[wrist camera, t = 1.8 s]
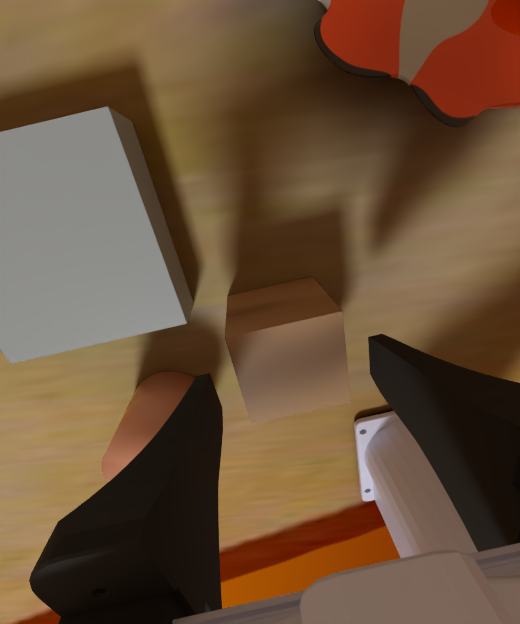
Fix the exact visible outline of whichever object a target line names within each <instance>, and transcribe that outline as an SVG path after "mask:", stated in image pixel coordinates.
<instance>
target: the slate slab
mask: <svg viewBox="0 0 520 624" xmlns="http://www.w3.org/2000/svg"><path fill="white" fill-rule="evenodd" d="M193 305H194V303H193V300H192V297H191V294H190V291H189V288H188V285H187V282H186V279H185V276H184V273H183V270H182V267H181V264H180V261H179V258H178V256H177V253H176V250H175V247H174V244H173V241H172V238H171V235H170V232H169V229H168V226H167V223H166V220H165V217H164V214H163V211H162V208H161V205H160V203H159V200H158V197H157V194H156V191H155V188H154V185H153V182H152V179H151V176H150V173H149V170H148V167H147V164H146V161H145V158H144V155H143V152H142V150H141V147H140V144H139V141H138V138H137V135H136V132H135V129H134V126H133V123H132V121H131V120H129V119H127V118H126V117H124V116H123V115H121V114H119V113H118V112H116V111H115V110H113V109H111V108H110V107H108V106H107V107H103V108H99V109H94V110H90V111H86V112H82V113H78V114H73V115H69V116H65V117H61V118H57V119H52V120H48V121H44V122H40V123H36V124H31V125H27V126H23V127H19V128H15V129H10V130H6V131H2V132H0V349H1V351H2V352H3V354H4V355H5V356H6V358H7V359H8V361H9V362H10V363H11V364H12V363H17V362H21V361H26V360H30V359H34V358H39V357H43V356H47V355H52V354H56V353H61V352H65V351H69V350H74V349H78V348H82V347H87V346H91V345H96V344H100V343H104V342H109V341H113V340H118V339H122V338H126V337H131V336H135V335H139V334H144V333H148V332H153V331H157V330H161V329H166V328H170V327H174V326H179V325H183V324H187V322H188V319H189V316H190V313H191V310H192V308H193Z"/></svg>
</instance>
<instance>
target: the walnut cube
mask: <svg viewBox="0 0 520 624" xmlns="http://www.w3.org/2000/svg"><path fill="white" fill-rule="evenodd" d="M225 340H226V343H227V346H228V350H229V353H230V356H231V360H232V363H233V366H234V369H235V373H236V376H237V379H238V382H239V386H240V389H241V392H242V395H243V399H244V402H245V405H246V408H247V412H248V415H249V418H250V422H251V424H254V423H259V422H263V421H268V420H272V419H277V418H281V417H286V416H290V415H295V414H299V413H304V412H308V411H312V410H317V409H321V408H326V407H330V406H335V405H339V404H344V403H348V402H351V397H350V386H349V376H348V365H347V355H346V344H345V334H344V324H343V313H342V310H341V309H340V308H339V307H338V306H337V304H336V303H335V302H334V301H333V300H332V299H331V297H330V296H329V295H328V294H327V293H326V292H325V290H324V289H323V288H322V287H321V286H320V285H319V283H318V282H317V281H316V280H315V279H314V278H313V276H312V277H307V278H303V279H299V280H294V281H290V282H286V283H281V284H277V285H273V286H268V287H264V288H260V289H255V290H251V291H246V292H242V293H238V294H233V295H229V296H228V298H227V313H226V328H225Z"/></svg>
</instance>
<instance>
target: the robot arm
mask: <svg viewBox="0 0 520 624" xmlns="http://www.w3.org/2000/svg"><path fill="white" fill-rule="evenodd" d="M368 340H369V359H370V374H371V376H372V378H373V380H374V382H375V384H376V385H377V387H378V389H379V391H380V392H381V394H382V395H383V397H384V398H385V400H386V401H387V402H388V404H389V405H390V406H391V408H392V409H393V410H394V411H391V412H387V413H382V414H378V415H373V416H369V417H364V418H360V419H358V420H356V421H355V423H354V428H355V439H356V449H357V460H358V471H359V481H360V492H361V497H362V499H363V500H364V501H372V500H375V501H376V503H377V505H378V508H379V510H380V512H381V514H382V517H383V519H384V521H385V523H386V526H387V528H388V530H389V532H390V534H391V537H392V539H393V541H394V543H395V546H396V548H397V550H398V552H399V554H400V557H401V558H400V559H395V560H391V561H386V562H382V563H377V564H373V565H368V566H365V567H360V568H355V569H350V570H346V571H342V572H337V573H334V574H331V575H329V576H326V577H323V578H320V579H318V580H316V581H315V582H314V583H313V584H311V585H310V586H309V587H308V588H306V589H305V591H300V592H296V593H291V594H287V595H282V596H278V597H273V598H269V599H265V600H260V601H255V602H251V603H247V604H242V605H237V606H233V607H228V608H224V609H222V601H221V583H220V559H219V527H218V481H219V469H220V458H221V446H222V434H223V417H222V406H221V403H220V400H219V398H218V395H217V392H216V389H215V386H214V384H213V381H212V378H211V375H210V373H209V374H205V375H200V376H196V378H195V379H194V381H193V382H192V384H191V386H190V387H189V389H188V390H187V392H186V393H185V395H184V396H183V398H182V400H181V401H180V402H179V404H178V405H177V407H176V408H175V410H174V411H173V413H172V414H171V415H170V417H169V418H168V419H167V421H166V422H165V423H164V425H163V426H162V428H161V429H160V430H159V431H158V432H157V434H156V435H155V436H154V437H153V438H152V439H151V441H150V442H149V443H148V444H147V445H146V446H145V447H144V448H143V450H142V451H141V452H140V453H139V454H138V455H137V456H136V457H135V458H134V459H133V460H132V461H131V462H130V463H129V464H128V465H127V466H126V467H125V468H124V469H123V470H121V471H120V472H119V473H118V474H117V475H116V476H115V477H114V478H113V479H112V480H110V481H109V482H108V483H107V484H106V485H105V486H103V487H102V488H101V489H100V490H99V491H98V492H96V493H95V494H94V495H93V496H91V497H90V498H89V499H88V500H86V501H85V502H84V503H82V504H81V505H80V506H78V507H77V508H76V509H75V510H73V511H72V512H71V513H69V514H68V515H67V516H65V517H64V518H63V519H61V520H60V521H58V523H57V525H56V527H55V529H54V531H53V533H52V534H51V536H50V538H49V540H48V542H47V544H46V546H45V548H44V550H43V552H42V554H41V556H40V558H39V559H38V561H37V563H36V565H35V567H34V569H33V571H32V573H31V576H30V580H29V581H30V585H31V588H32V591H33V592H34V593H35V595H36V596H37V597H38V598H39V599H40V600H42V601H43V602H44V603H45V604H46V605H48V606H49V607H50V608H51V609H52V610H53V611H55V612H56V613H57V614H58V615H59V616H61V619H60V621H59V624H520V383H517V382H513V381H509V380H505V379H501V378H497V377H493V376H489V375H485V374H482V373H478V372H475V371H472V370H469V369H466V368H463V367H460V366H457V365H454V364H451V363H448V362H446V361H443V360H441V359H438V358H435V357H433V356H431V355H428V354H426V353H424V352H421V351H419V350H417V349H414V348H412V347H410V346H408V345H406V344H404V343H401V342H399V341H397V340H395V339H393V338H390V337H388V336H386V335H383V334H379V335H375V336H371V337H368ZM362 429H363V430H362Z"/></svg>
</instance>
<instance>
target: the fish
mask: <svg viewBox="0 0 520 624" xmlns="http://www.w3.org/2000/svg"><path fill="white" fill-rule="evenodd" d="M317 1H319V2H320V3H322V4H323V5H324V6H325V7H326V9H327V13H326V14H325V15H324V16H323V17H322V18H321V19H320V20H319V21H318V22H317V23H316V25H315V27H314V35H315V39H316V42H317V44H318V46H319V48H320V49H321V51H322V52H323V53H324V54H325V55H326V56H327V57H328V59H329V60H331V61H332V62H333V63H334V64H335V65H336V66H338V67H339V68H340V69H342V70H344V71H346V72H347V73H350V74H353V75H356V76H360V77H367V78H389V77H390V78H399V79H401V80H403V81H405V82H406V83H407V84H408V85H409V86H410V87H411V88H412V90H413V91H414V93H415V94H416V96H417V97H418V98H419V100H420V101H421V102H422V104H423V105H424V106H425V107H426V109H427V110H428V111H429V112H430V113H431V114H432V115H434V116H435V117H436V118H437V119H438V120H440V121H441V122H443V123H444V124H446V125H448V126H451V127H461V126H464V125H466V124H468V123H469V122H470V121H471V120H473V119H474V118H475V117H476V116H477V115H478V114H479V113H481V112H482V111H483V110H485V109H506V108H518V107H520V0H317Z"/></svg>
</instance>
